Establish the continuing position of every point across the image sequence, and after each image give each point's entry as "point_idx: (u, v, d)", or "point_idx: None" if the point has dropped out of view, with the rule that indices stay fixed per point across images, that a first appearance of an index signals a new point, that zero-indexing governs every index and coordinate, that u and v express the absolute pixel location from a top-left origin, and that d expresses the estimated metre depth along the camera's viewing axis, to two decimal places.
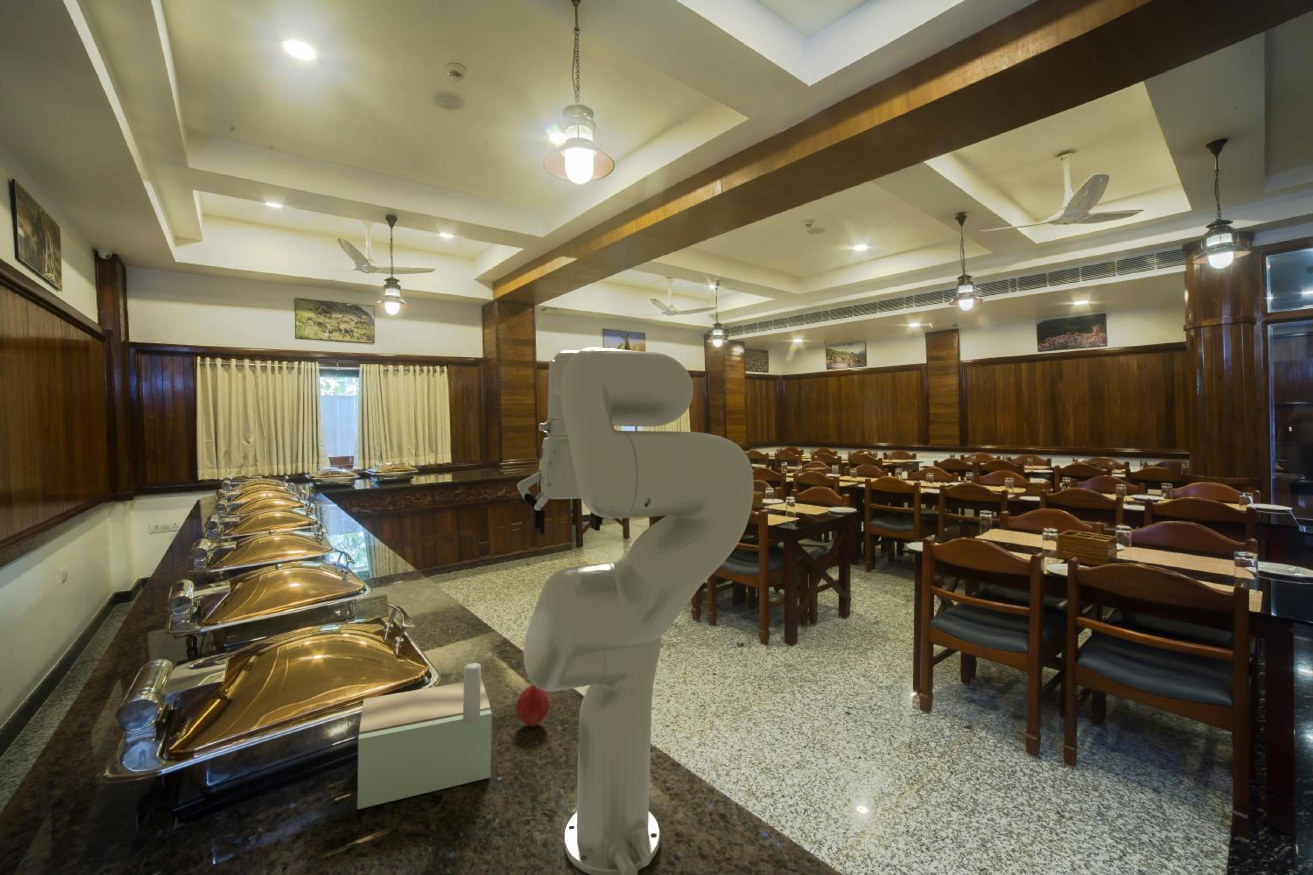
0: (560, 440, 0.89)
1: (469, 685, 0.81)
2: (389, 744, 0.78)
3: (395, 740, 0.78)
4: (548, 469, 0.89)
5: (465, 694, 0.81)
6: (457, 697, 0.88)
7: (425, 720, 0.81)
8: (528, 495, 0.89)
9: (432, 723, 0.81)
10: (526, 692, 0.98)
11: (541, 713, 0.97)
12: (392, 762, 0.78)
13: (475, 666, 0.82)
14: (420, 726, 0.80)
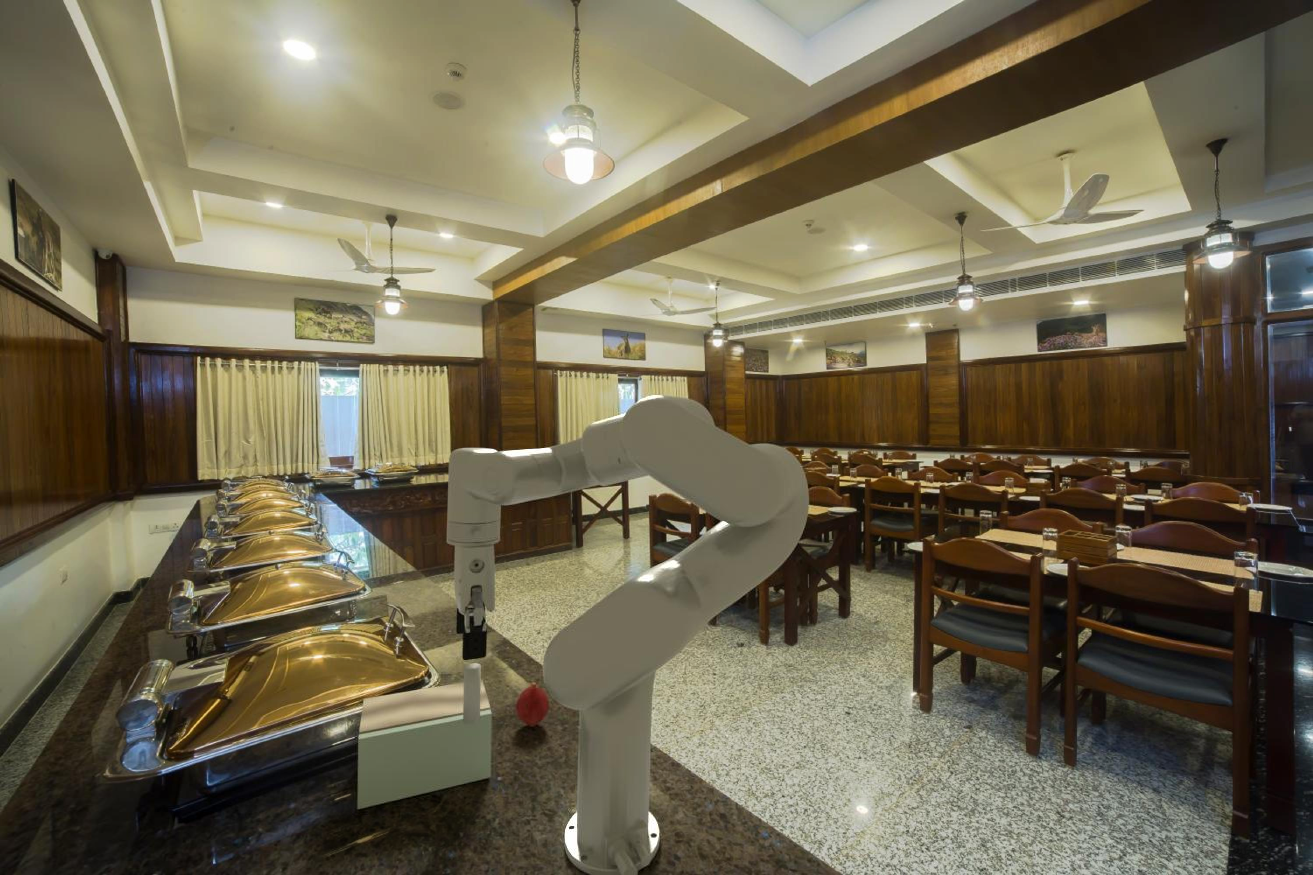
0: None
1: (469, 685, 0.81)
2: (389, 744, 0.78)
3: (395, 740, 0.78)
4: (494, 579, 0.79)
5: (465, 694, 0.81)
6: (457, 697, 0.88)
7: (425, 720, 0.81)
8: (484, 617, 0.76)
9: (432, 723, 0.81)
10: (526, 692, 0.98)
11: (541, 713, 0.97)
12: (392, 762, 0.78)
13: (475, 666, 0.82)
14: (420, 726, 0.80)
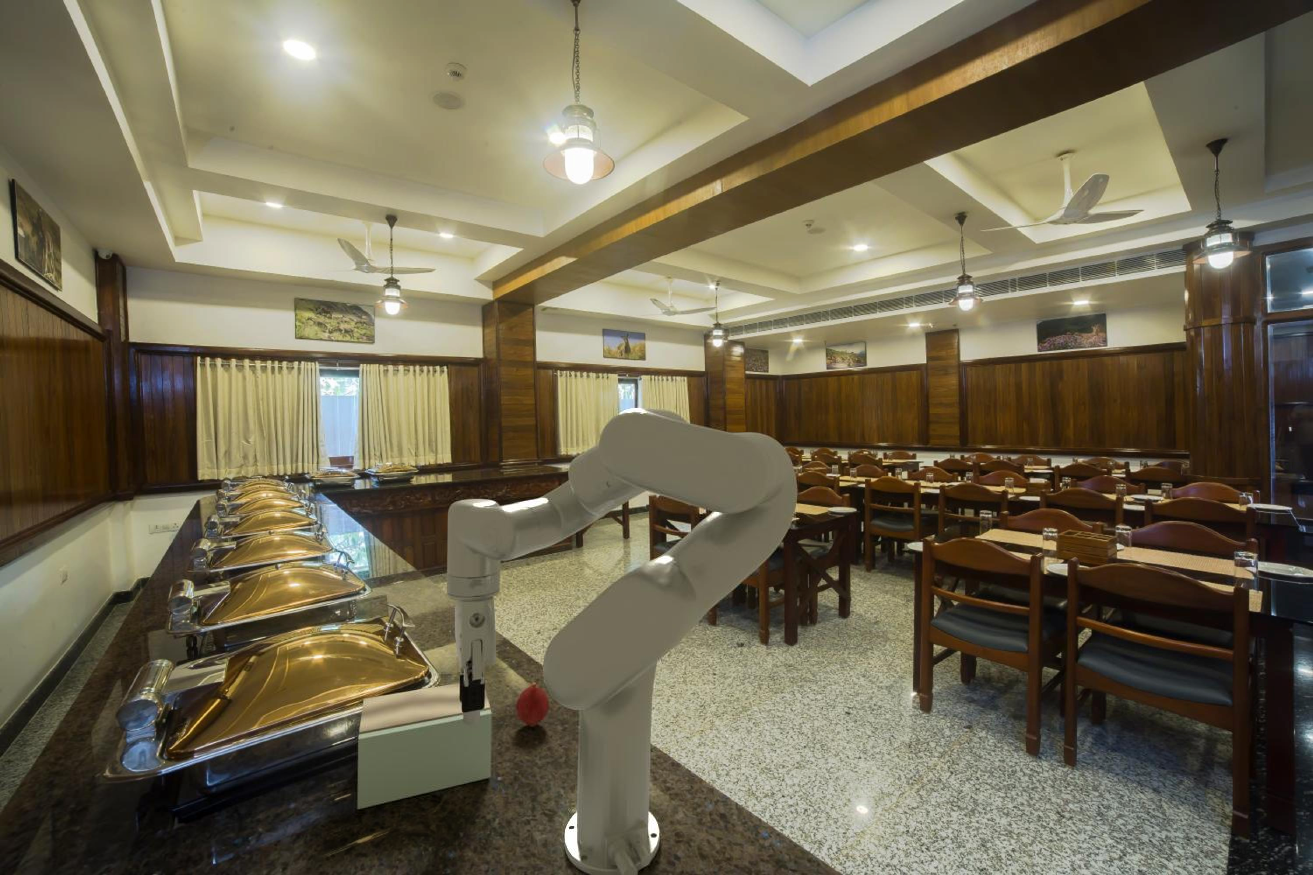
0: None
1: None
2: (389, 744, 0.78)
3: (395, 740, 0.78)
4: None
5: None
6: (457, 697, 0.88)
7: (425, 720, 0.81)
8: (481, 672, 0.79)
9: (432, 723, 0.81)
10: (526, 692, 0.98)
11: (541, 712, 0.97)
12: (392, 762, 0.78)
13: None
14: (420, 726, 0.80)
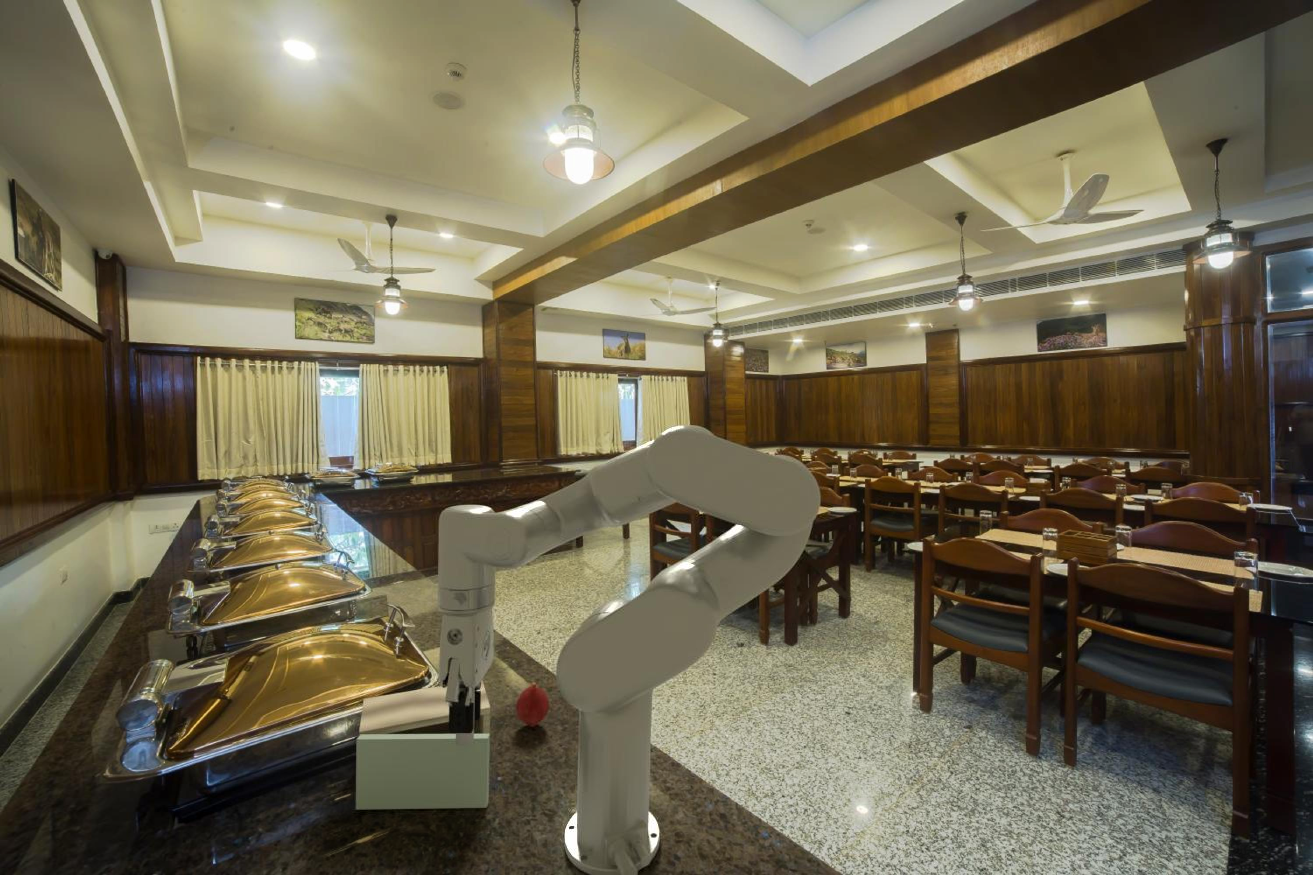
0: (480, 612, 0.74)
1: None
2: (385, 750, 0.77)
3: (391, 747, 0.77)
4: (475, 653, 0.72)
5: None
6: None
7: (425, 720, 0.81)
8: (463, 693, 0.73)
9: (427, 737, 0.77)
10: (526, 692, 0.98)
11: (541, 713, 0.97)
12: (388, 769, 0.77)
13: None
14: (415, 737, 0.77)
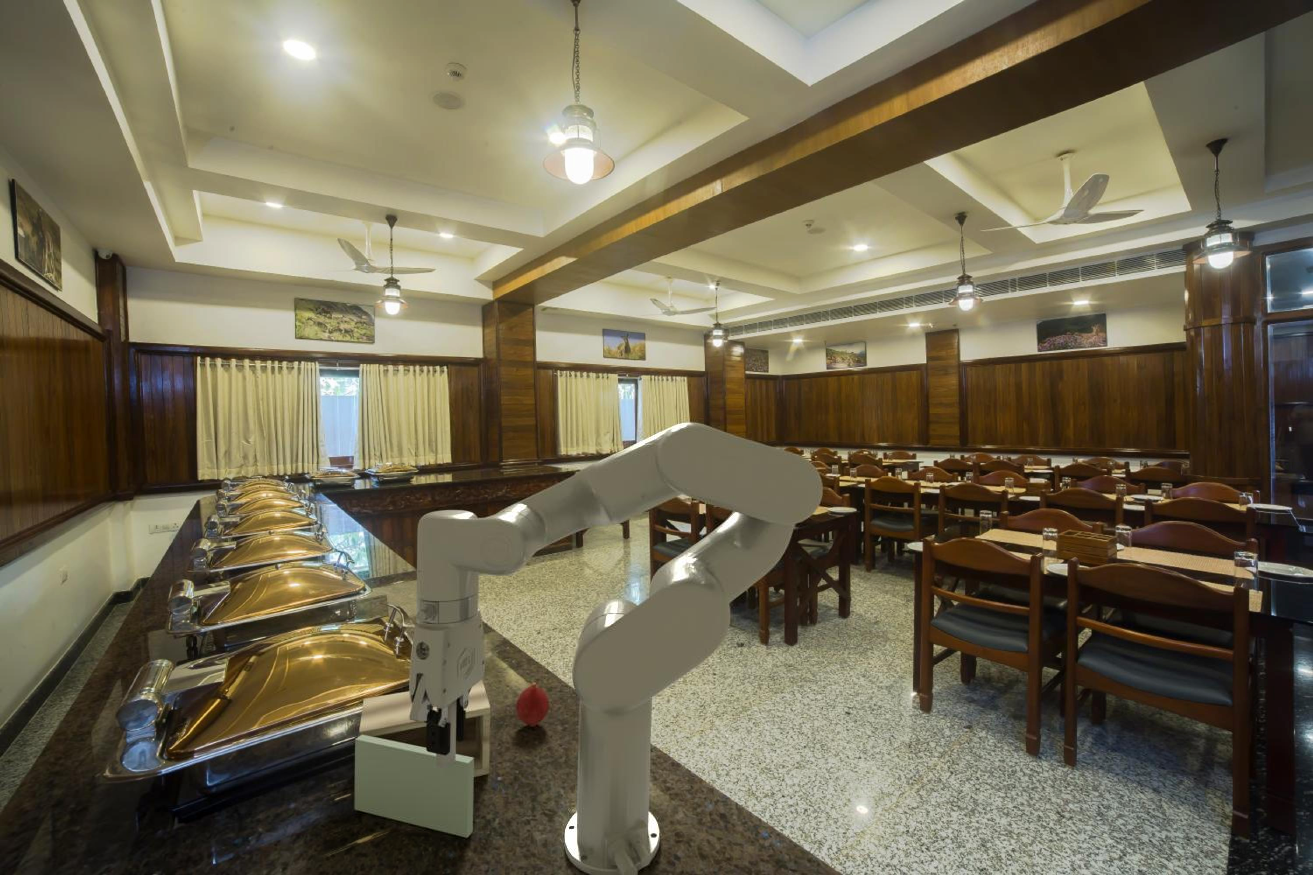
0: (453, 627, 0.68)
1: None
2: (378, 755, 0.75)
3: (383, 754, 0.75)
4: (443, 671, 0.67)
5: None
6: None
7: None
8: (433, 712, 0.68)
9: (414, 750, 0.74)
10: (526, 692, 0.98)
11: (541, 713, 0.97)
12: (380, 775, 0.75)
13: None
14: (404, 748, 0.75)
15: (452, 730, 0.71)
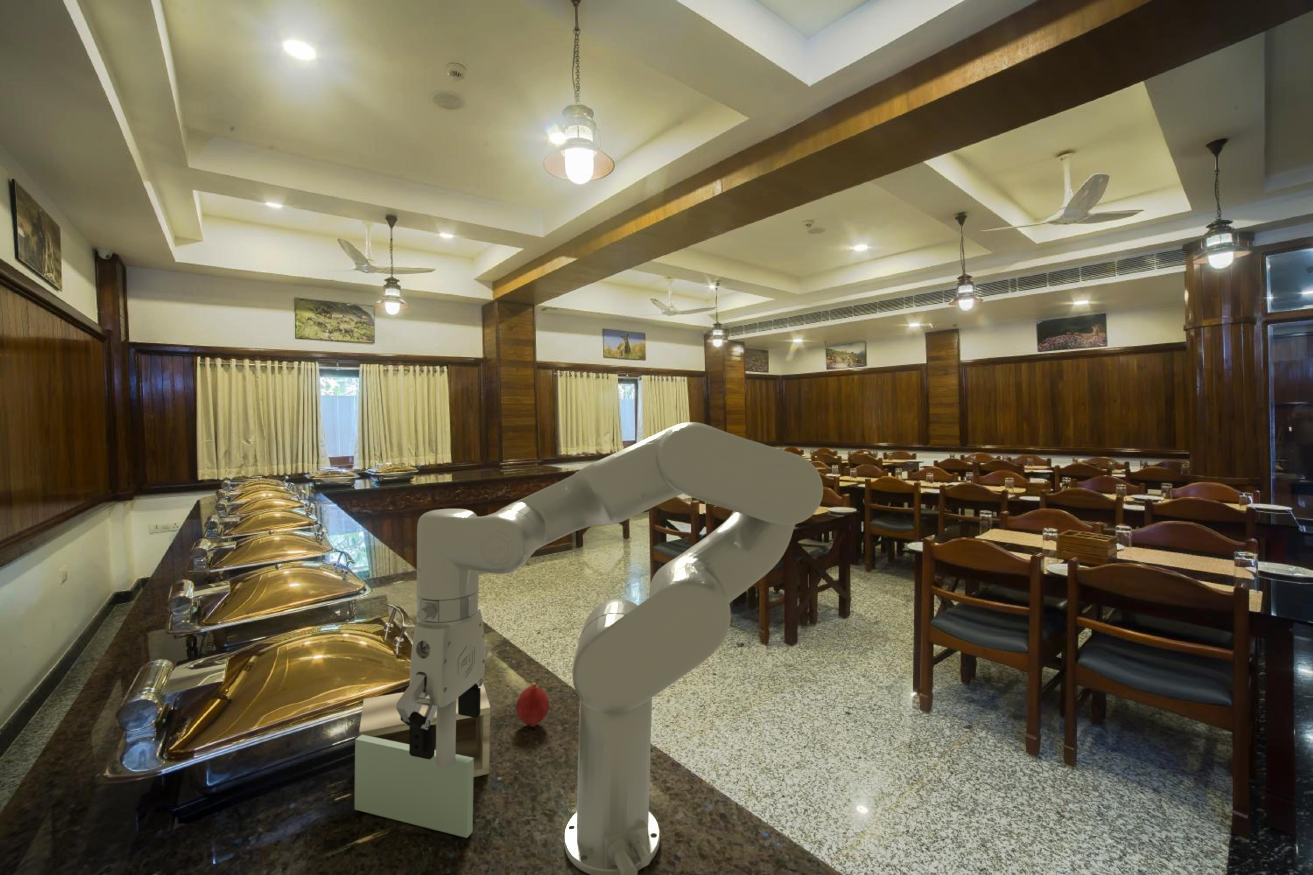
0: (453, 625, 0.68)
1: (437, 722, 0.71)
2: (378, 756, 0.75)
3: (383, 754, 0.75)
4: (443, 669, 0.67)
5: (436, 731, 0.71)
6: None
7: None
8: (416, 714, 0.65)
9: None
10: (526, 692, 0.98)
11: (541, 713, 0.97)
12: (380, 775, 0.75)
13: None
14: (404, 748, 0.75)
15: (452, 730, 0.71)
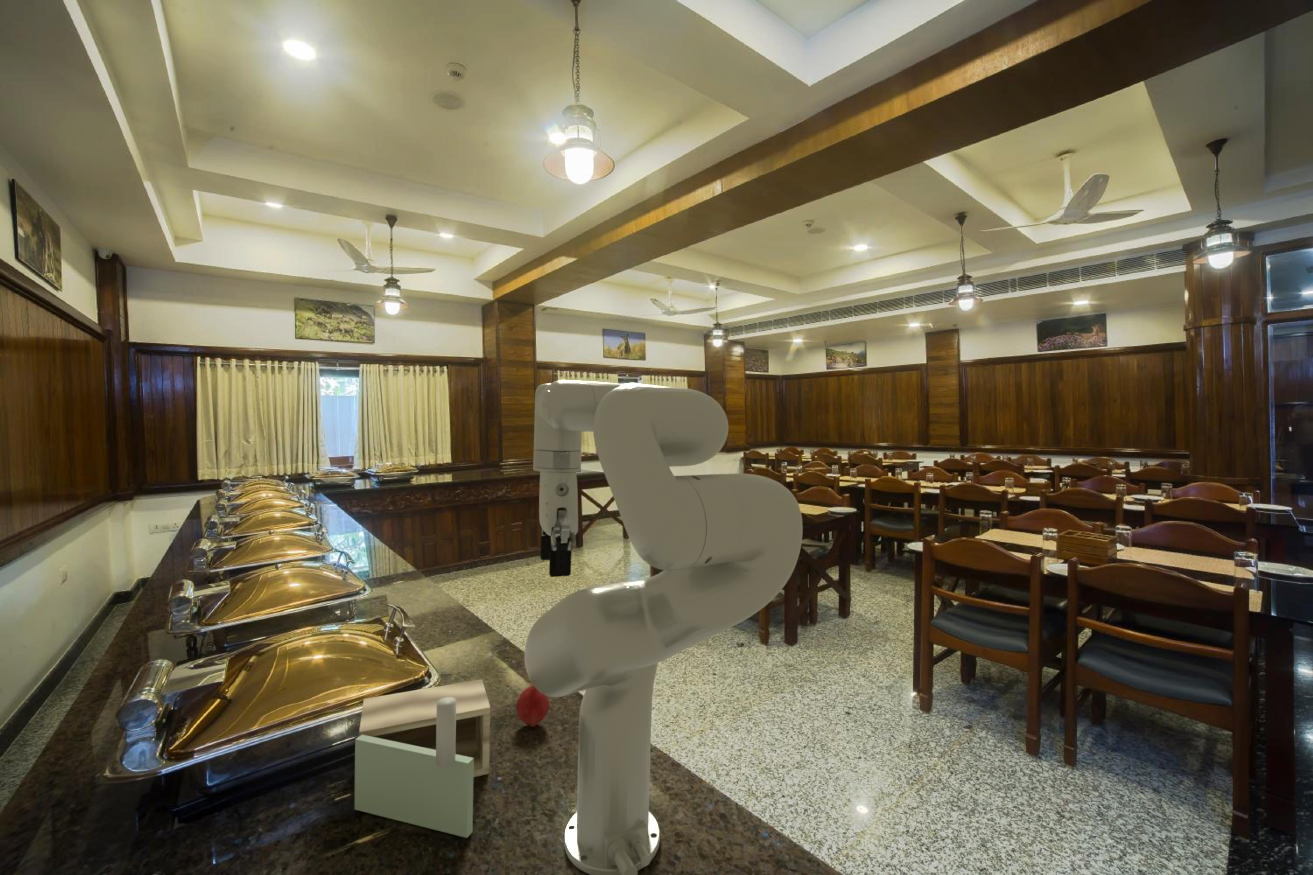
0: (575, 472, 0.86)
1: (437, 722, 0.71)
2: (378, 756, 0.75)
3: (383, 754, 0.75)
4: (577, 504, 0.85)
5: (436, 731, 0.71)
6: (457, 697, 0.88)
7: (425, 720, 0.81)
8: (569, 536, 0.82)
9: (414, 750, 0.74)
10: (526, 692, 0.98)
11: (541, 712, 0.97)
12: (380, 775, 0.75)
13: (447, 703, 0.71)
14: (404, 748, 0.75)
15: (452, 730, 0.71)
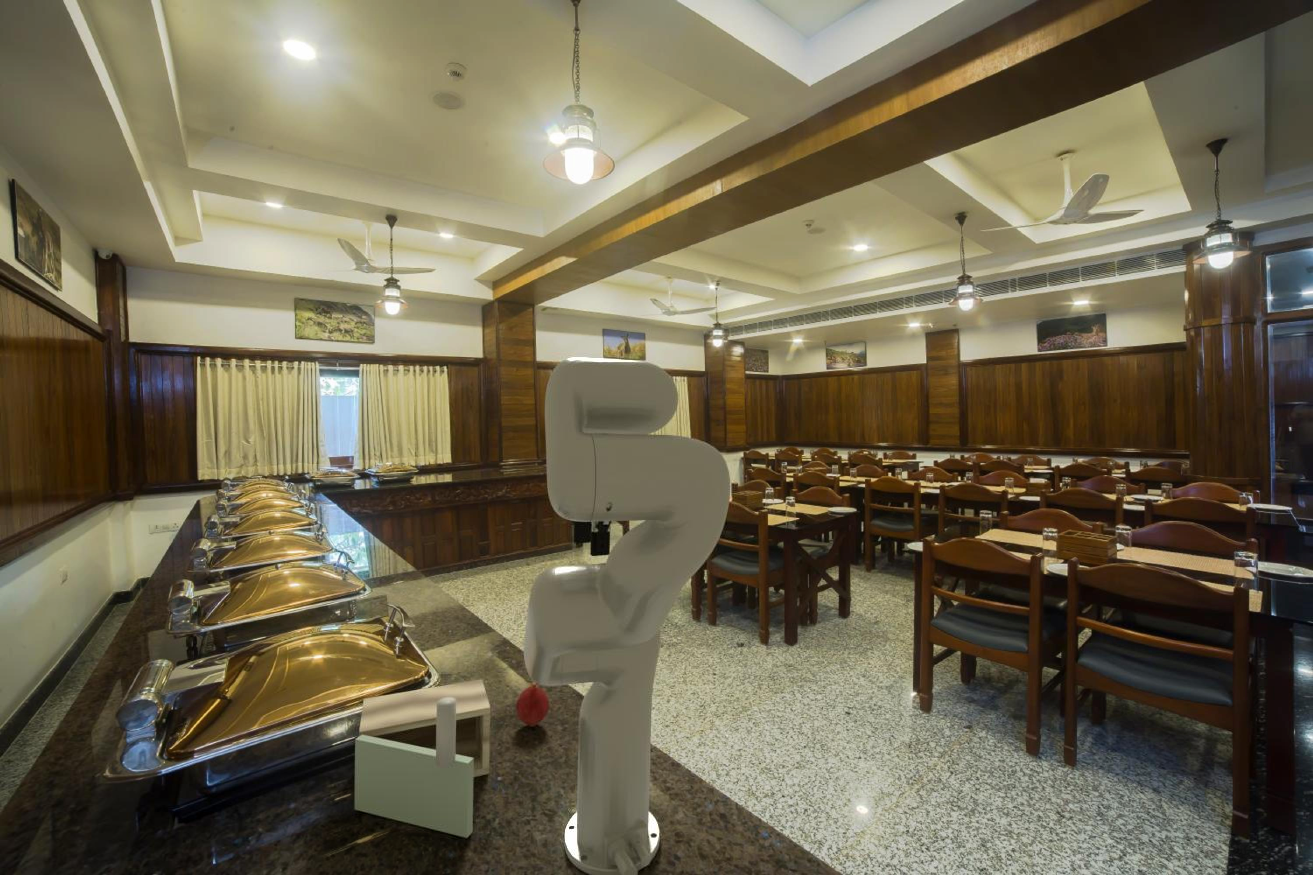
0: None
1: (437, 722, 0.71)
2: (378, 756, 0.75)
3: (383, 754, 0.75)
4: None
5: (436, 731, 0.71)
6: (457, 697, 0.88)
7: (425, 720, 0.81)
8: None
9: (414, 750, 0.74)
10: (526, 692, 0.98)
11: (541, 713, 0.97)
12: (380, 775, 0.75)
13: (447, 703, 0.71)
14: (404, 748, 0.75)
15: (452, 730, 0.71)
